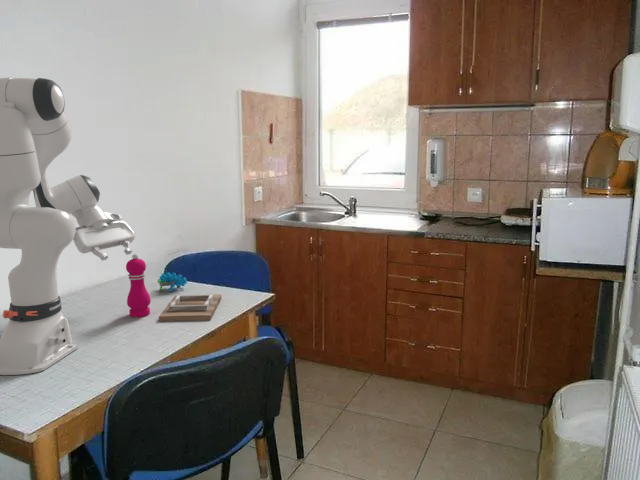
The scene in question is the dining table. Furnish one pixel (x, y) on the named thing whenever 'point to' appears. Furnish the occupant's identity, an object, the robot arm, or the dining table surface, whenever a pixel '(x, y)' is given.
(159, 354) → the dining table surface
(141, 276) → the pepper mill
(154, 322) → the dining table surface
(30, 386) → the dining table surface
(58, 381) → the dining table surface
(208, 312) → the walnut board
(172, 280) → the toy dinosaur
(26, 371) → the robot arm
